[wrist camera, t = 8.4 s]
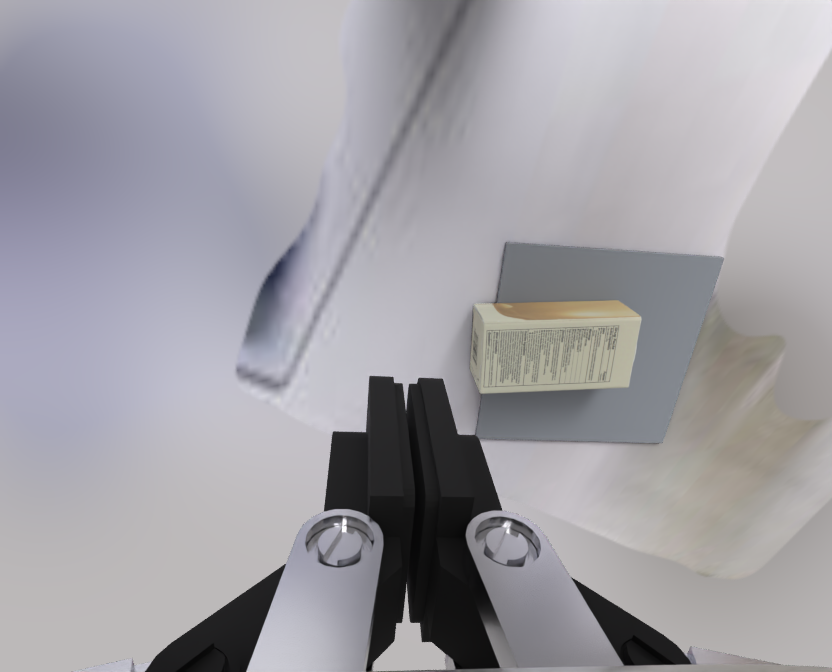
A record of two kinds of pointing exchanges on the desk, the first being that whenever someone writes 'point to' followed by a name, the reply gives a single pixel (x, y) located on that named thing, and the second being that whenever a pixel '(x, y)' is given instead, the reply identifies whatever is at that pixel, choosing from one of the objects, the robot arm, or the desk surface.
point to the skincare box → (553, 346)
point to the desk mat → (656, 346)
